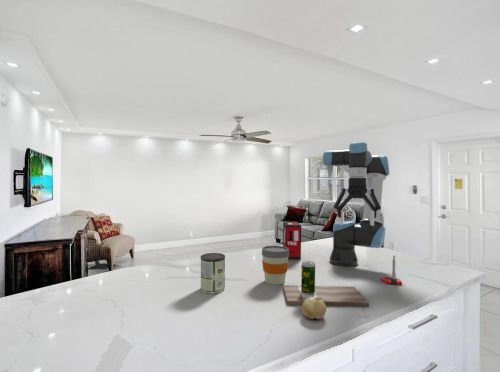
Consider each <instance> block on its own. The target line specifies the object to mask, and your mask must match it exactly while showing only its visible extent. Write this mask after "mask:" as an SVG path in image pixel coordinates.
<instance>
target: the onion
mask: <svg viewBox="0 0 500 372" xmlns="http://www.w3.org/2000/svg"><path fill="white" fill-rule="evenodd" d="M301 310H302V312H303V314H304V316H305V317H306V318H308V319H310V320H313V321H314V320H315V319H316V320H321V319H322V318H323V317H325V315H326V313H327V306H326V305H325V303H324V302H323V301H322V300H321V297H318V294H317V297H310V298H307V299H306V300H305V301H304V302H303V304H302V305H301Z"/></svg>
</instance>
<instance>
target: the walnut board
mask: <svg viewBox="0 0 500 372" xmlns="http://www.w3.org/2000/svg"><path fill="white" fill-rule="evenodd" d="M282 285H283V292H284V296H285V300H286V305H287V306H302V304H303V302H304V301H305V300H306V299H307V298H310V297H317V294H318V297H321V300H322V301H323V302H324V303H325V305H326V307H327V306H329V307H330V306H331V307H370V302H369V301H368V300H367V299H366V298H365V297H364V296H363V294H362V293H361V291H359V290H358V289H357V288H356V286H345V285H344V286H342V285H341V286H340V285H335V286H334V285H315V293H314V294H313V295H306V294H303V293H302V291H301V284H297V285H295V284H294V285H293V284H292V285H291V284H288V285H286V284H285V285H284V284H282Z"/></svg>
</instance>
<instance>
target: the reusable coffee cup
mask: <svg viewBox="0 0 500 372" xmlns="http://www.w3.org/2000/svg"><path fill="white" fill-rule="evenodd" d="M261 256H262V261H261V262H262V271H263V273H264V282H265V283H266V284H269V285H274V286H279V285H284V284H285V282H286V278H287V272H288V269H289V268H288V267H289V259H288V256H289V249H288V248H287V247H283V245H267V246H264V247H262V249H261Z"/></svg>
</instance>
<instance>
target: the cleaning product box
mask: <svg viewBox="0 0 500 372" xmlns="http://www.w3.org/2000/svg"><path fill="white" fill-rule="evenodd" d="M282 223H283V224H282V246H283V247H287V248H288V249H289V256H288V260H297V261H298V260H302V225H301V224H300V223H299V222H298V221H285V220H284V221H282Z"/></svg>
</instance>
